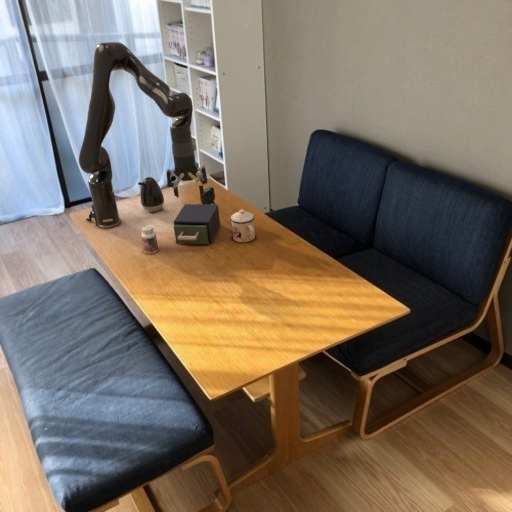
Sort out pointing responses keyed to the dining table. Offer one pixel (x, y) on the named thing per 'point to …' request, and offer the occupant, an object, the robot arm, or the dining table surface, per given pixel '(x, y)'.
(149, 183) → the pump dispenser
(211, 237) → the cabinet
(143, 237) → the pill bottle
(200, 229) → the drawer
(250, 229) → the teacup with lid
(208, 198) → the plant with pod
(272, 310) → the dining table surface
